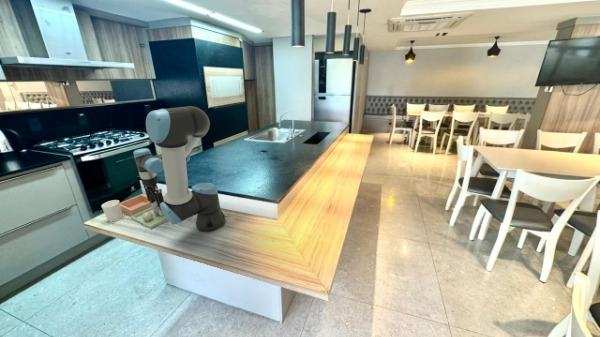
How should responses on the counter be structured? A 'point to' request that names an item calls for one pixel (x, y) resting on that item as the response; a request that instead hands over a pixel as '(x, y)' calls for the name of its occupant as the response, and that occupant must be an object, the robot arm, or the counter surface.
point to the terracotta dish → (135, 205)
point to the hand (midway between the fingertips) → (159, 213)
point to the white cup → (112, 210)
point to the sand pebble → (147, 216)
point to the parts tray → (151, 223)
